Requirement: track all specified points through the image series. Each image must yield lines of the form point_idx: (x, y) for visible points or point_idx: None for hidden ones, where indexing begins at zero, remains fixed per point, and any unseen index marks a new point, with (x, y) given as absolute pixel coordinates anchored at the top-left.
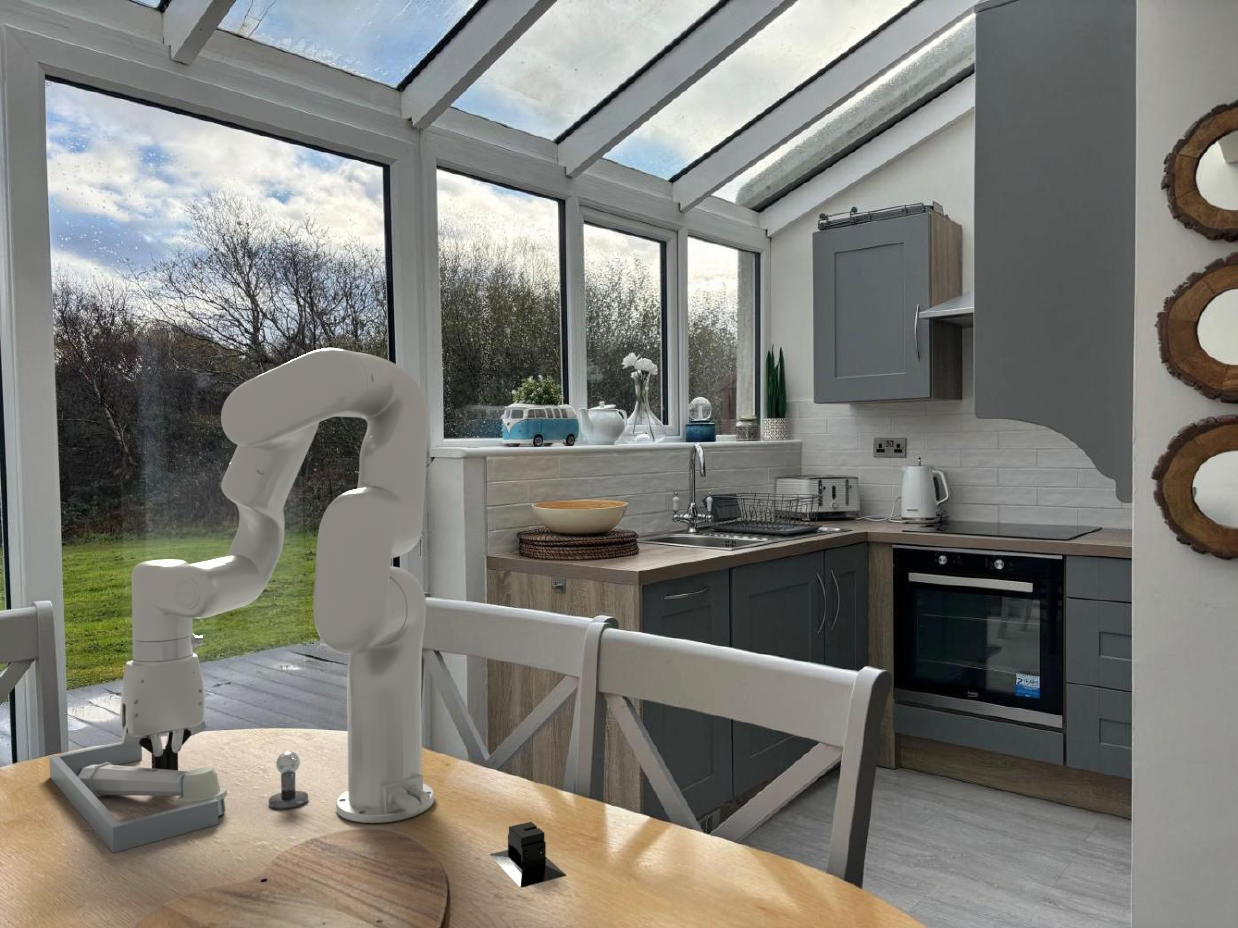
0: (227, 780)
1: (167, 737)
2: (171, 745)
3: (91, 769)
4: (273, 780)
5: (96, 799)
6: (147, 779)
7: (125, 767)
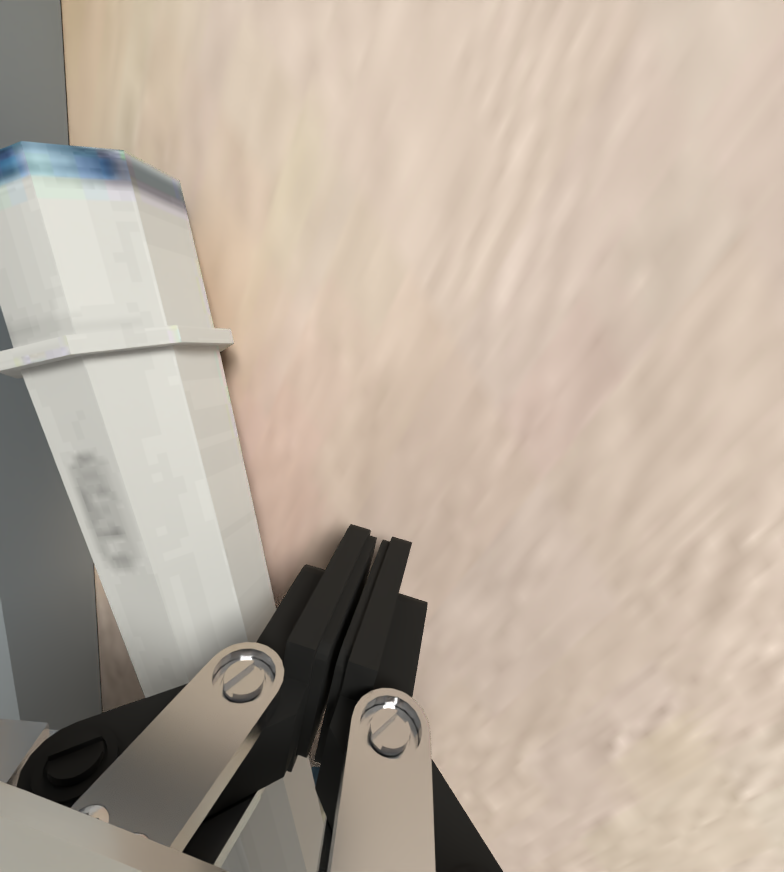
0: (623, 683)
1: (339, 793)
2: (324, 829)
3: (4, 307)
4: (721, 833)
5: (8, 673)
6: None
7: (130, 556)
